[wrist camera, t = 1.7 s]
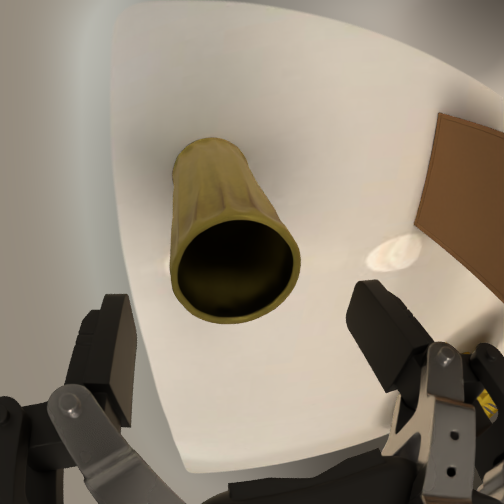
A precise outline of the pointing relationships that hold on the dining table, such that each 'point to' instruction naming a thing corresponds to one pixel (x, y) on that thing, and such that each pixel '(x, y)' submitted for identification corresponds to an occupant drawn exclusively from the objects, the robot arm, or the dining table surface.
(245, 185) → the vase
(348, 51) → the dining table surface
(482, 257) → the carton
